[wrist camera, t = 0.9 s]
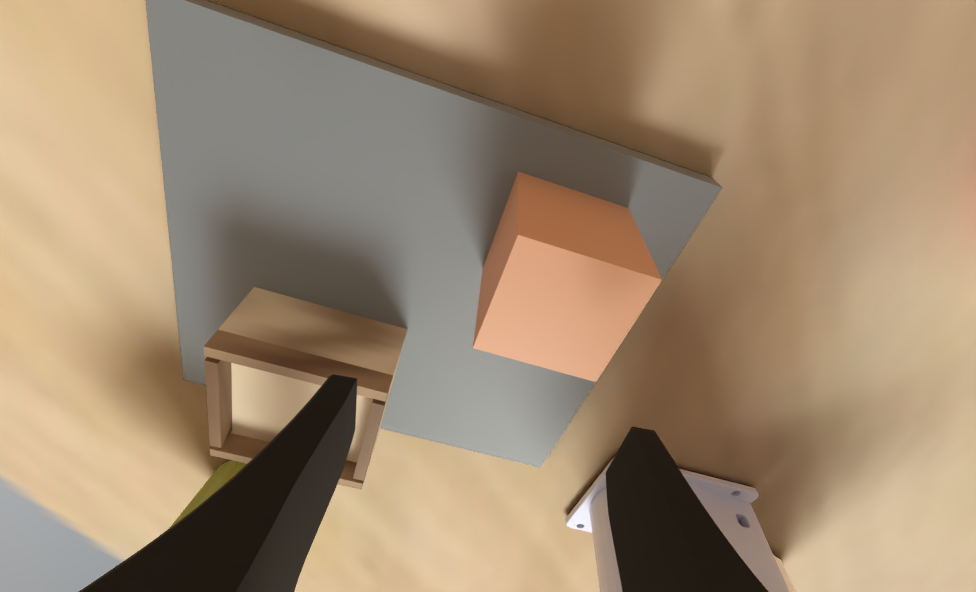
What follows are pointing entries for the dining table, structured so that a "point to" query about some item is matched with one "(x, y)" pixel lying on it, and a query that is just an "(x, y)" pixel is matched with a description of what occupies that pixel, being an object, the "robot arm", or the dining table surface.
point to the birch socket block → (294, 373)
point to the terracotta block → (562, 279)
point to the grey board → (375, 209)
